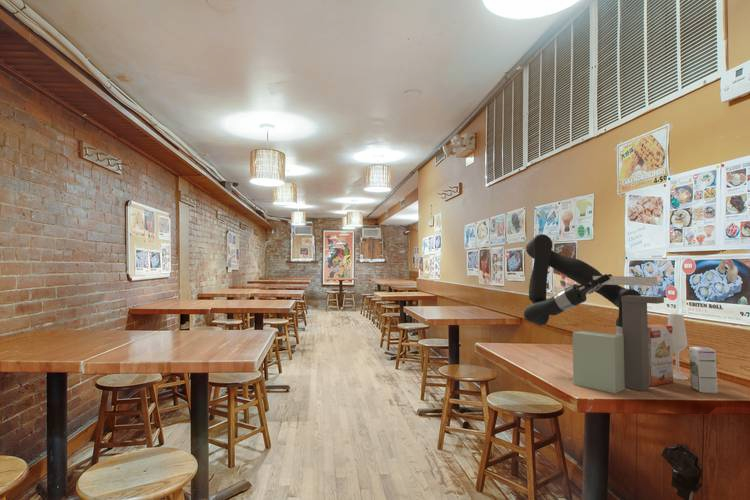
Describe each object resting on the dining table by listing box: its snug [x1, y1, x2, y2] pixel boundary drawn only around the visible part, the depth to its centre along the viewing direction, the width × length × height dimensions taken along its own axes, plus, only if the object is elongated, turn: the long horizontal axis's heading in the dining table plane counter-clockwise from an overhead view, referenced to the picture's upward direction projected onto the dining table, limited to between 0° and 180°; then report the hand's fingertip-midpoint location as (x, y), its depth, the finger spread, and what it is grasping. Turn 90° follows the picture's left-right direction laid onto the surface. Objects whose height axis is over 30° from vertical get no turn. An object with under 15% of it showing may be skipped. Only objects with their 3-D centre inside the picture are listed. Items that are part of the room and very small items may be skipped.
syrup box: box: [688, 346, 719, 394], centre depth 145 cm, size 6×6×14 cm
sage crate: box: [572, 330, 626, 394], centre depth 149 cm, size 14×8×18 cm, turn 40°
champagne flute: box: [667, 313, 689, 381], centre depth 163 cm, size 7×7×24 cm
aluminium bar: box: [593, 275, 658, 287], centre depth 152 cm, size 20×3×3 cm, turn 40°
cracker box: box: [648, 323, 674, 387], centre depth 155 cm, size 14×6×21 cm, turn 117°
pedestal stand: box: [621, 295, 665, 392], centre depth 146 cm, size 11×7×32 cm, turn 40°
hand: (610, 276), depth 155 cm, fingers closed on aluminium bar, 3 cm apart
